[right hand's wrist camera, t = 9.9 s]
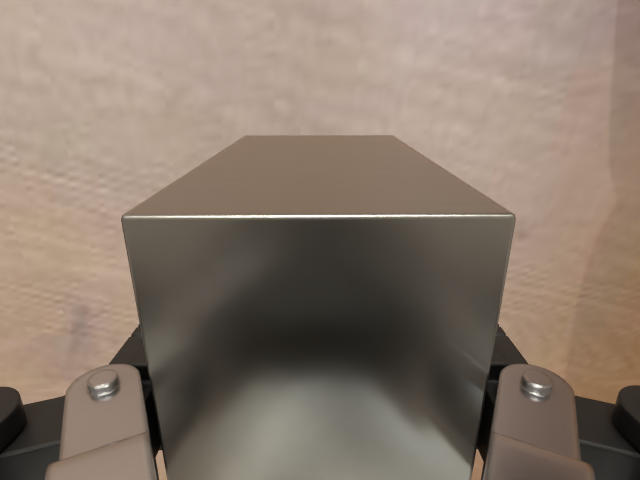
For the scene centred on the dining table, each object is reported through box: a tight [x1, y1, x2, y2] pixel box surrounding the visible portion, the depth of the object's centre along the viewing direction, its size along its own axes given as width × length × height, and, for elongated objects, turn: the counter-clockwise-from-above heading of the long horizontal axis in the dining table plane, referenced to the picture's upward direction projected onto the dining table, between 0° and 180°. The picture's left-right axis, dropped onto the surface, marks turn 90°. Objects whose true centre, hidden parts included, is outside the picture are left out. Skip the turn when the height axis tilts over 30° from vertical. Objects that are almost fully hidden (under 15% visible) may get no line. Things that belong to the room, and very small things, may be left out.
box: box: [121, 135, 516, 480], centre depth 16 cm, size 24×6×11 cm, turn 0°
